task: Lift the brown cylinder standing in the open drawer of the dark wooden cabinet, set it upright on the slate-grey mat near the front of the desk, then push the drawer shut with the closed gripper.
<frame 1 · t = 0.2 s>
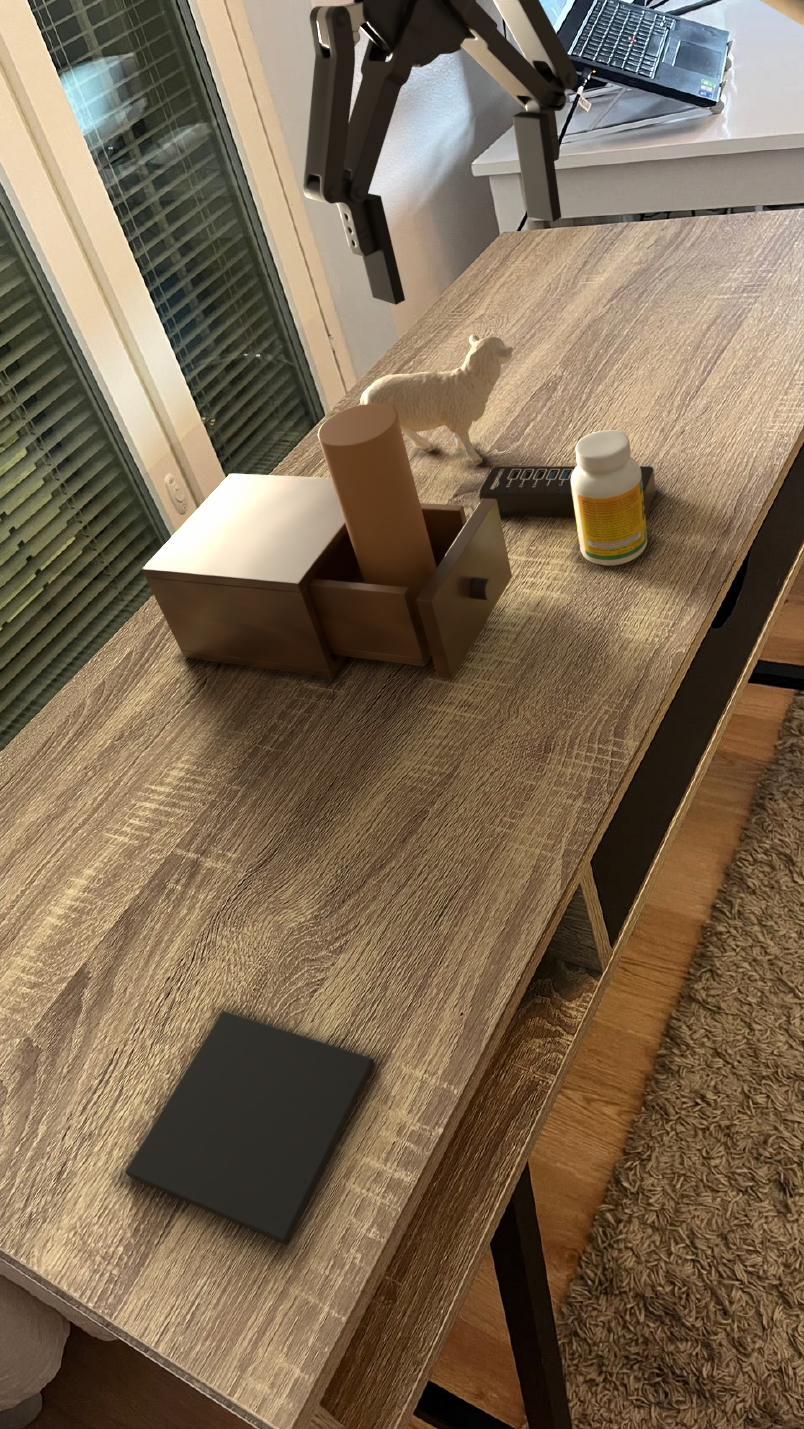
hand: (469, 257, 72), 25 cm above the table, tool pointing down, fingers open, 13 cm apart
brown cylinder: (409, 607, 84), point 2 cm above the table, touching drawer
supplement bottle: (614, 550, 87), on the table
mat: (253, 1119, 57), on the table
cabinet: (295, 614, 90), on the table
drawer: (401, 581, 82), point 5 cm above the table, slide at 9.0 cm, touching brown cylinder
multiport hub: (567, 504, 93), on the table
figurine: (453, 456, 104), on the table
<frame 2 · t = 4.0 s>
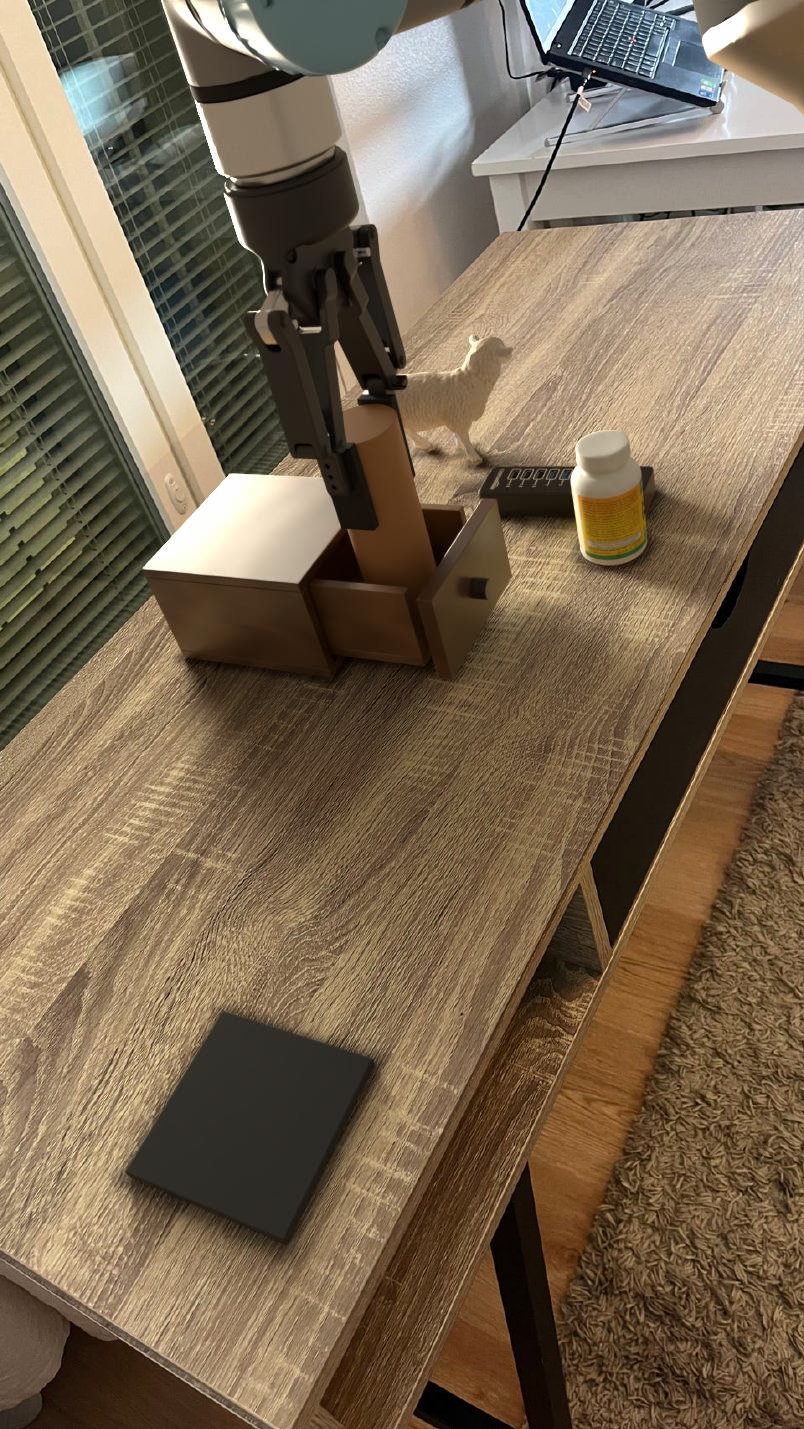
hand: (379, 500, 77), 12 cm above the table, tool pointing down, fingers closed on brown cylinder, 6 cm apart
brown cylinder: (409, 607, 84), point 2 cm above the table, touching drawer, gripper
everything else where it was.
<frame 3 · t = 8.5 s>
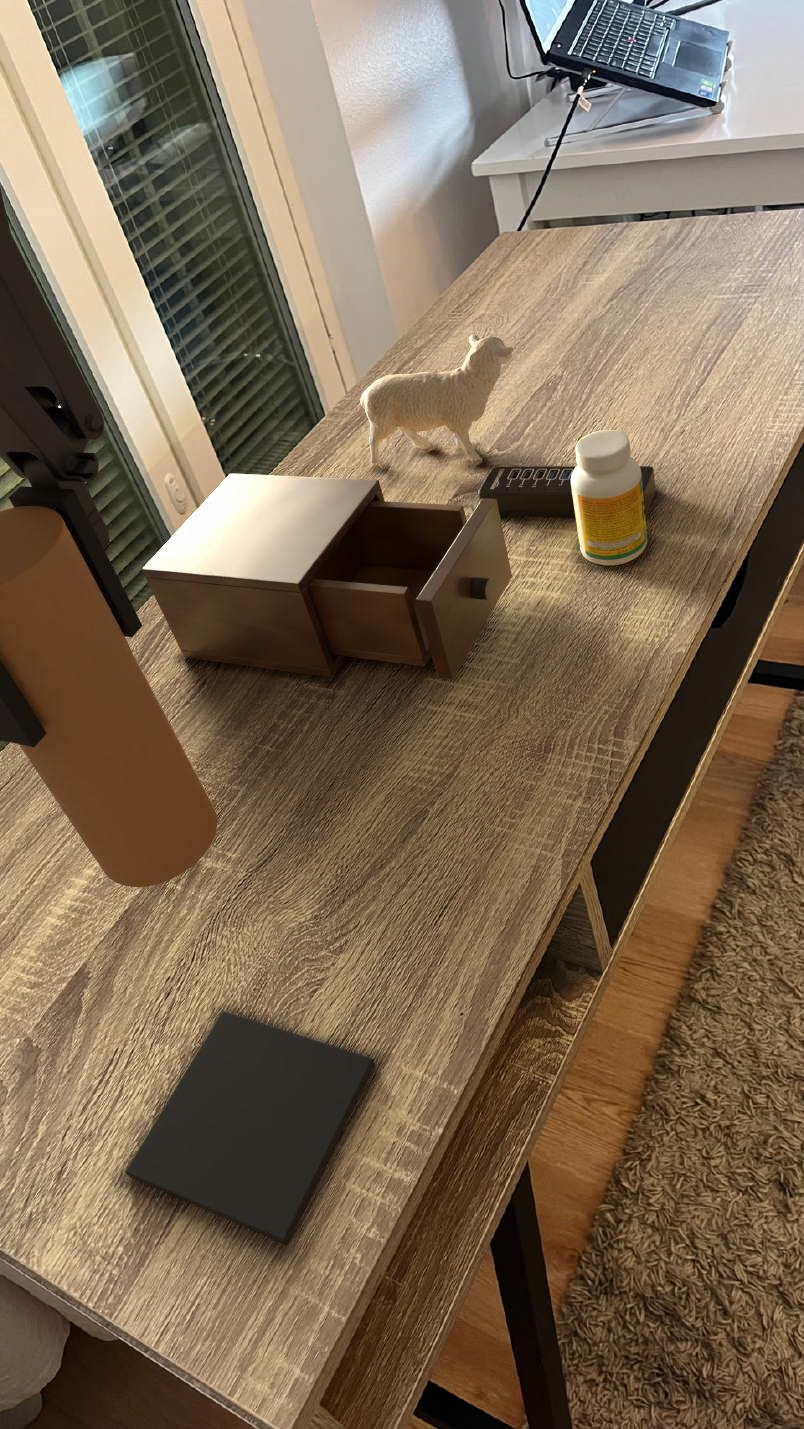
hand: (65, 678, 42), 28 cm above the table, tool pointing down, fingers closed on brown cylinder, 6 cm apart
brown cylinder: (159, 838, 49), point 18 cm above the table, touching gripper
drawer: (401, 581, 82), point 5 cm above the table, slide at 9.0 cm
everything else where it was.
when the fingers open (10 cm above the table, at t = 13.0 s): brown cylinder stays where it is, resting on mat.
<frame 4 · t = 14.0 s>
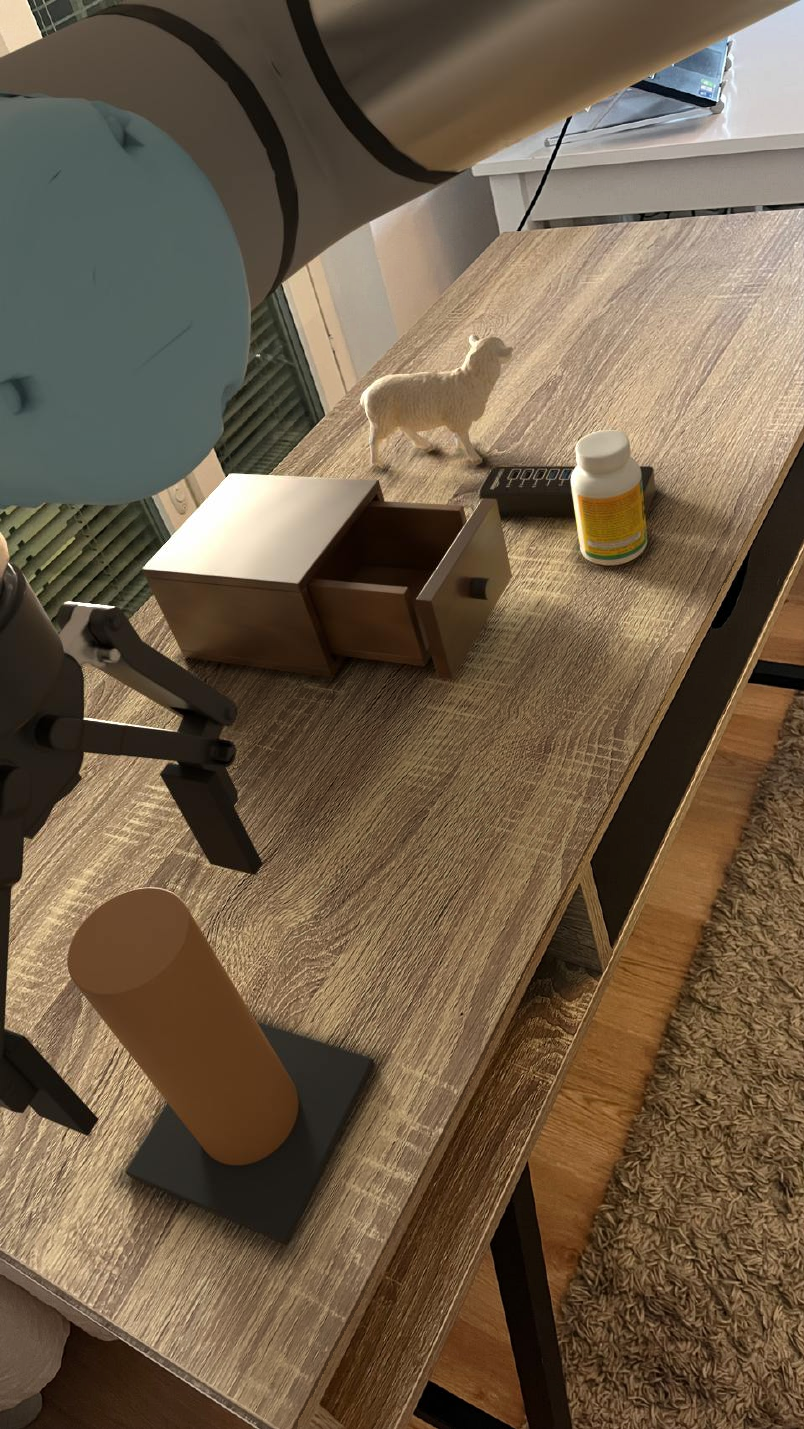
hand: (160, 980, 48), 13 cm above the table, tool pointing down, fingers open, 13 cm apart
brown cylinder: (248, 1113, 57), point 1 cm above the table, touching mat
everything else where it was.
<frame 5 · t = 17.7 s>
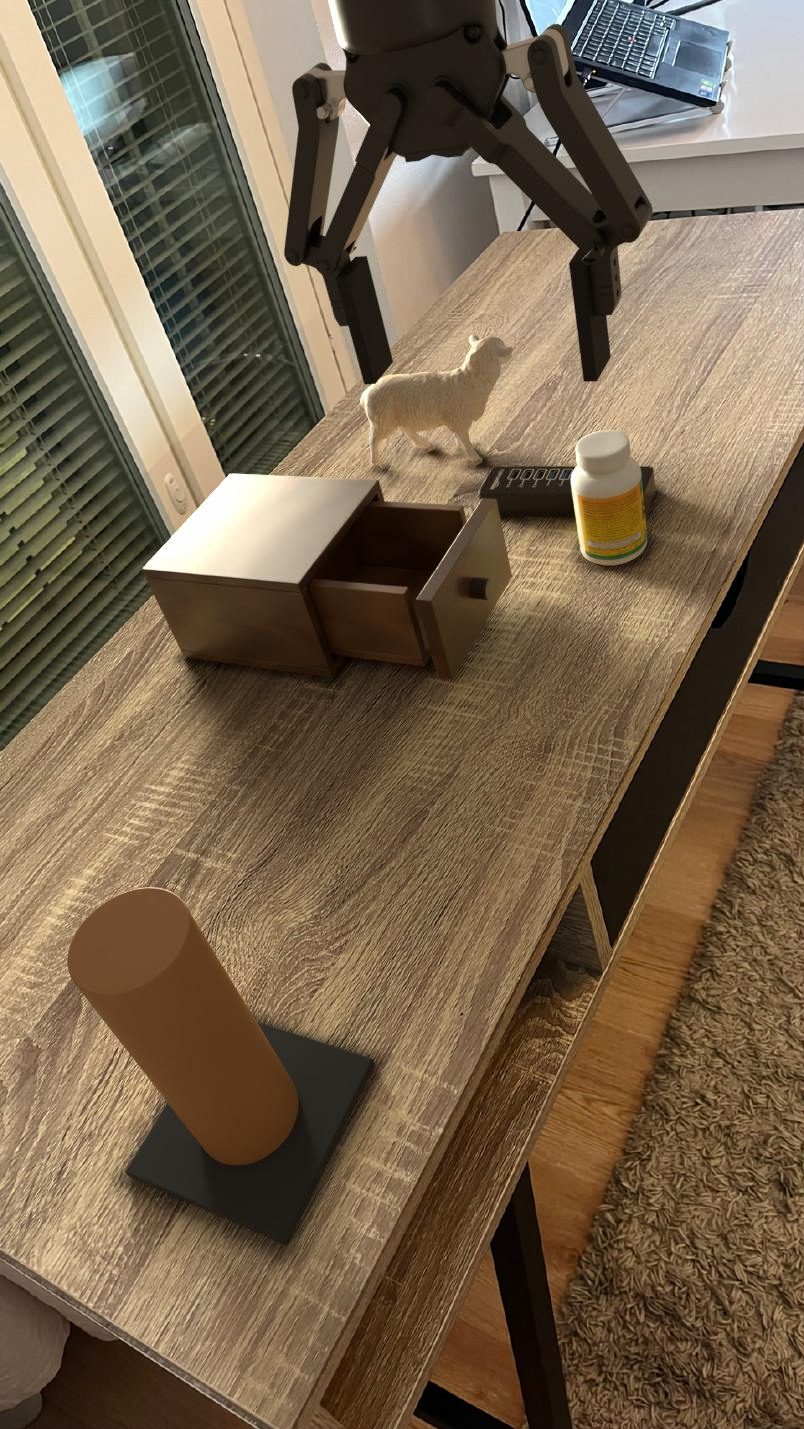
hand: (483, 372, 62), 24 cm above the table, tool pointing down, fingers open, 13 cm apart
nothing on the table moved.
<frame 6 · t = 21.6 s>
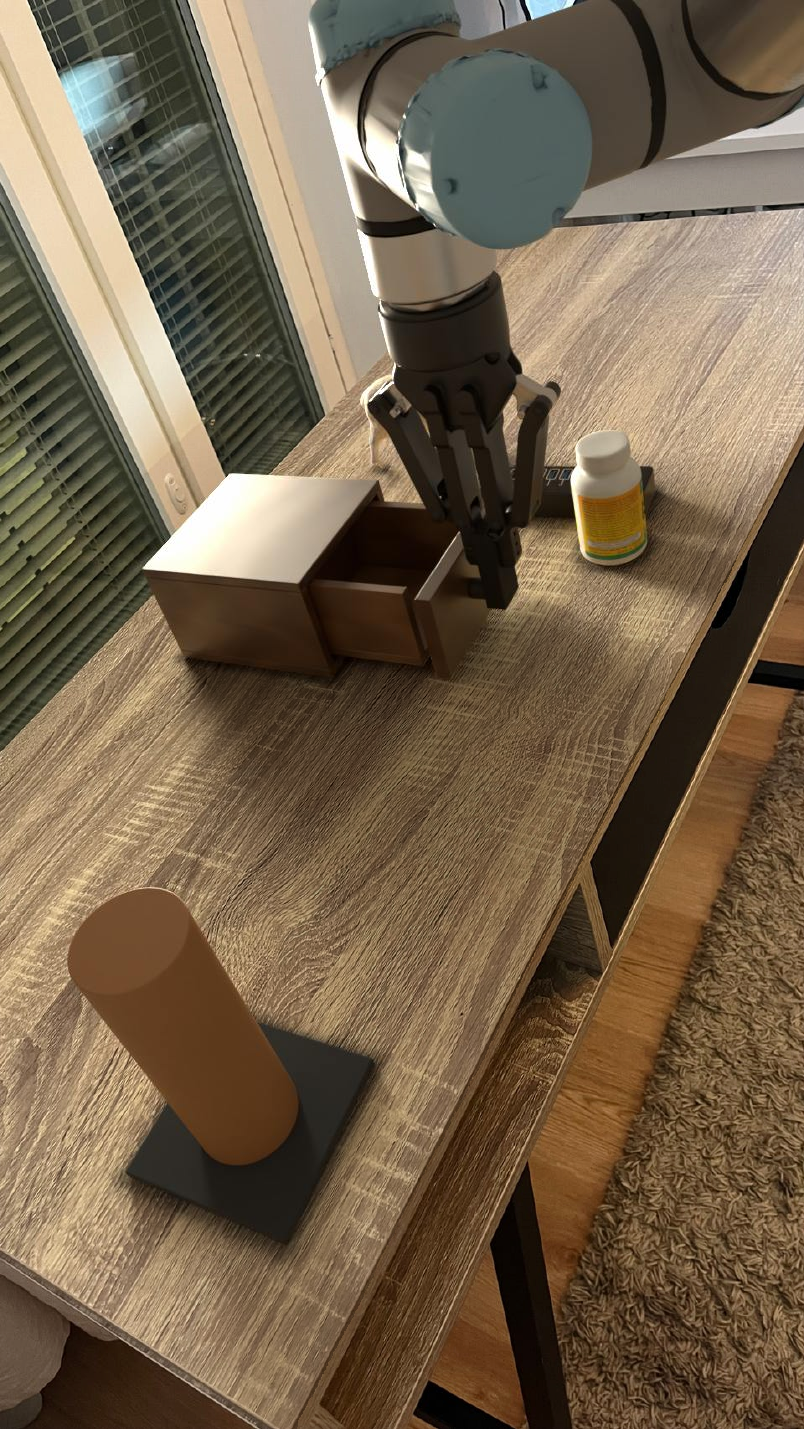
hand: (503, 597, 79), 4 cm above the table, tool pointing down, fingers closed
drawer: (400, 581, 82), point 5 cm above the table, slide at 8.9 cm, touching gripper
everything else where it was.
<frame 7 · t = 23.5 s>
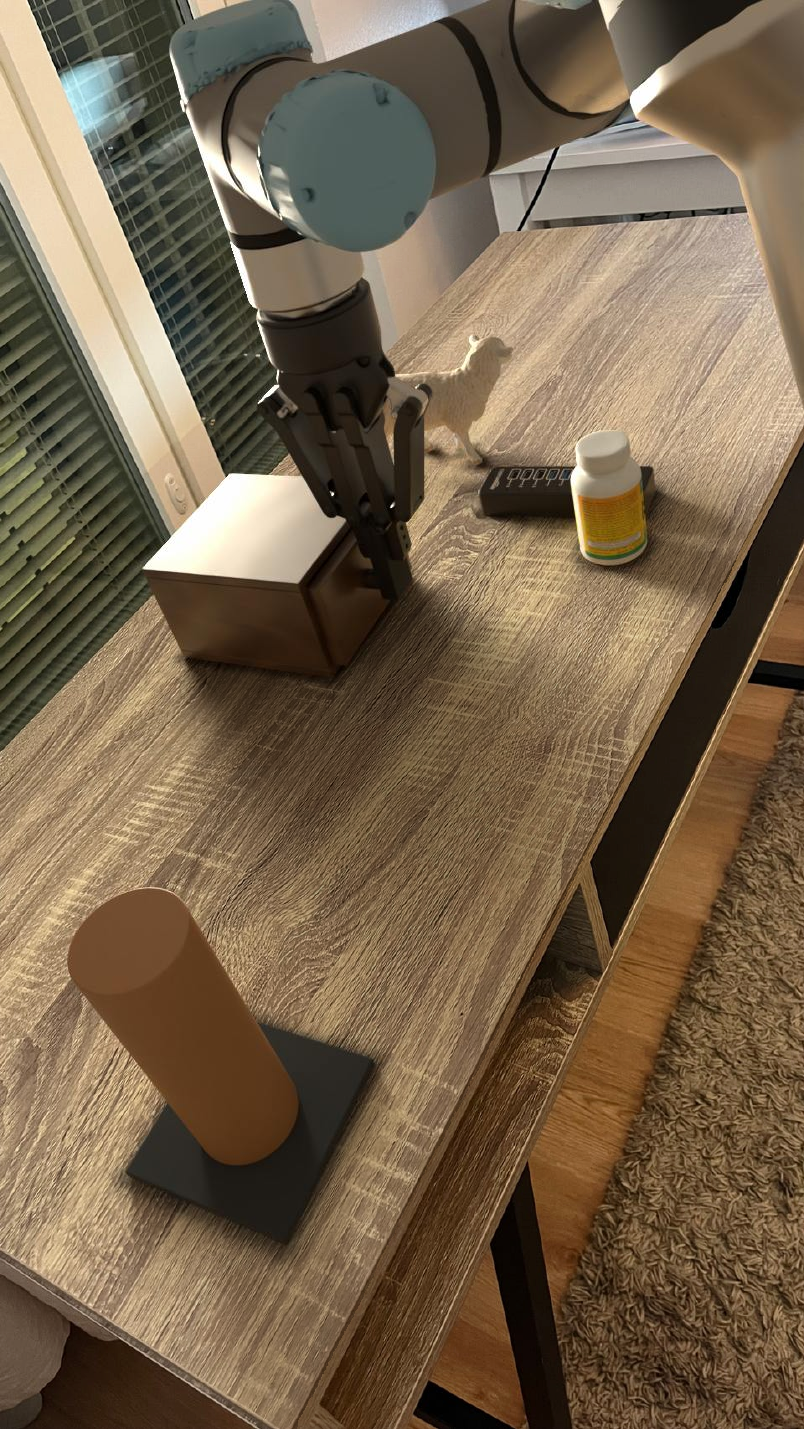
hand: (397, 588, 83), 4 cm above the table, tool pointing down, fingers closed
drawer: (303, 572, 86), point 5 cm above the table, slide at 0.0 cm, touching cabinet, gripper
everything else where it was.
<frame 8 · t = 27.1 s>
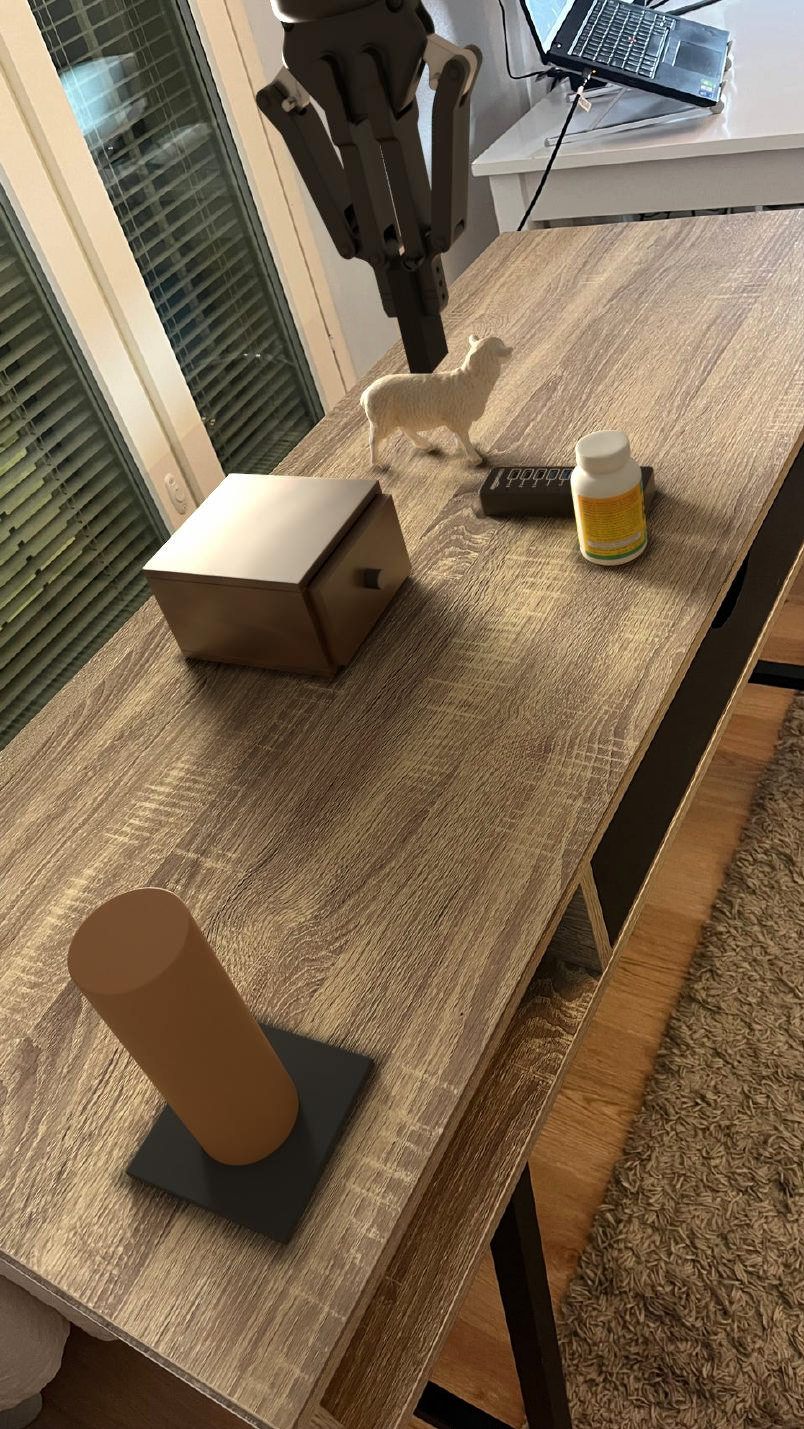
hand: (429, 362, 67), 22 cm above the table, tool pointing down, fingers closed
drawer: (303, 572, 86), point 5 cm above the table, slide at 0.0 cm
everything else where it was.
at the end: brown cylinder inside the target area on the mat (0.1 cm from its centre), point 0.6 cm above the mat's base; brown cylinder tilted 0°; drawer slide at 0.0 cm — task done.
